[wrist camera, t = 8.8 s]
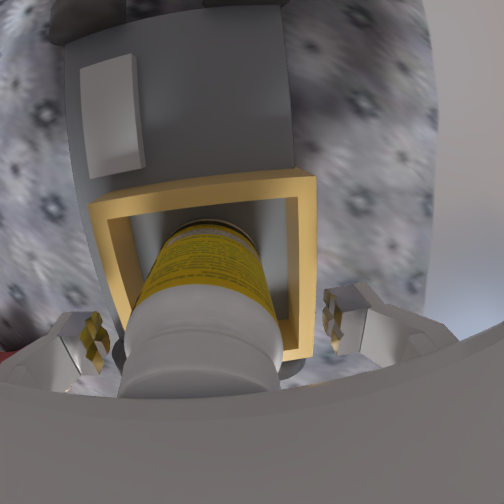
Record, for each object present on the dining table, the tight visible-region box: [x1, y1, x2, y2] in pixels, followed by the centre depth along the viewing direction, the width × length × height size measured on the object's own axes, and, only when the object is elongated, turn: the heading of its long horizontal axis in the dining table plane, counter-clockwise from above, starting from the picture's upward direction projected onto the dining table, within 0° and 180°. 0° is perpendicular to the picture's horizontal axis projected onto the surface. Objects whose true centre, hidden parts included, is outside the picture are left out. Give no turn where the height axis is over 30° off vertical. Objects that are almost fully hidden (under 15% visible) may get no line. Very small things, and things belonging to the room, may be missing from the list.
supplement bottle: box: [117, 219, 283, 399], centre depth 10 cm, size 5×5×8 cm
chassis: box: [48, 0, 317, 381], centre depth 11 cm, size 11×19×4 cm, turn 5°
